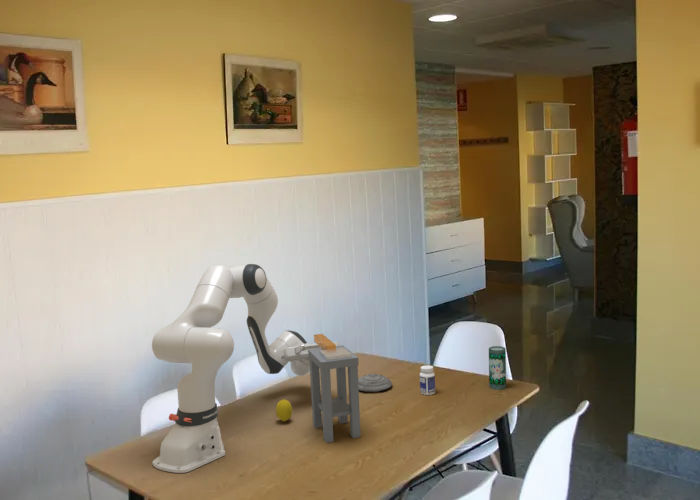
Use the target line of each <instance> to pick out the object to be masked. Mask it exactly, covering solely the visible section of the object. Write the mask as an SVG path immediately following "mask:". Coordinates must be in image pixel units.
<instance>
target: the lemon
mask: <svg viewBox="0 0 700 500" xmlns="http://www.w3.org/2000/svg"><path fill="white" fill-rule="evenodd" d="M275 414H276V417H277V419H279V420H280V421H282V422H283V423H285V422H286V421H288V420H289V419H291V417H292V414H293V407H292V404H291V402H290V401H288V399H285V398H282V399H280V400H279V401H278V402H277V404H276V407H275Z"/></svg>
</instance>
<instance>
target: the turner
mask: <svg viewBox="0 0 700 500" xmlns="http://www.w3.org/2000/svg"><path fill="white" fill-rule="evenodd" d="M313 340H314V341H313V342H314V344H317V345H319V346H320V347H321V348H322V349H323V350H321V351H320V355H321V356H322V357H323V358H324V359H325V360H326V361H329V360H337V359H344V358H351V353H350V352H348V351H347V350H346V349H345V348H336V345H335V344H334V343H333V342H334V341H332V340H330V339H329V338H328V337H327V336H326V335H324V333H318V334H313Z"/></svg>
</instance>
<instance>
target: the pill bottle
mask: <svg viewBox="0 0 700 500" xmlns="http://www.w3.org/2000/svg"><path fill="white" fill-rule="evenodd" d="M435 376H436V374H435V372H434V366H432V365H429V364H427V365H422V366H420V372H419V391H420V393H421V394H422V395H425V396H430V395H434V394H435V393H436V377H435Z"/></svg>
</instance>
